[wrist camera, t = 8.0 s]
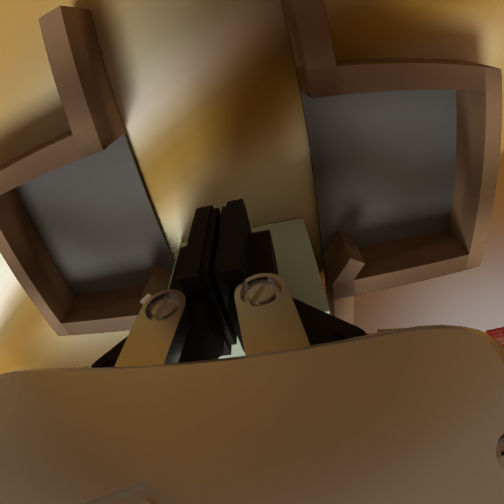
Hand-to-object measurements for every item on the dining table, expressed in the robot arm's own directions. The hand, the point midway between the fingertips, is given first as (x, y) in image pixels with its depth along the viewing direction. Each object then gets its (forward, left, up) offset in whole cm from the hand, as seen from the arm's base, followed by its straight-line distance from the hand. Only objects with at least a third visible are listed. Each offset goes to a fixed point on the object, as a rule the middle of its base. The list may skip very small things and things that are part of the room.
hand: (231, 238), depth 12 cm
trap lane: (+1, 0, -3) cm, 3 cm away
